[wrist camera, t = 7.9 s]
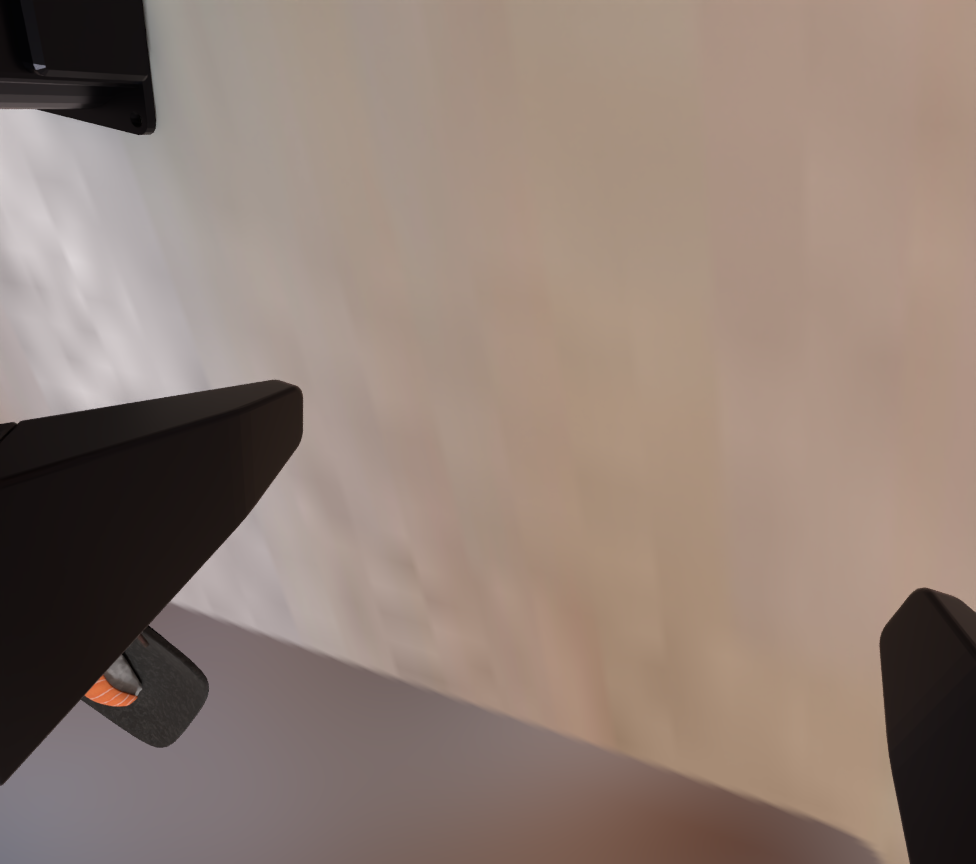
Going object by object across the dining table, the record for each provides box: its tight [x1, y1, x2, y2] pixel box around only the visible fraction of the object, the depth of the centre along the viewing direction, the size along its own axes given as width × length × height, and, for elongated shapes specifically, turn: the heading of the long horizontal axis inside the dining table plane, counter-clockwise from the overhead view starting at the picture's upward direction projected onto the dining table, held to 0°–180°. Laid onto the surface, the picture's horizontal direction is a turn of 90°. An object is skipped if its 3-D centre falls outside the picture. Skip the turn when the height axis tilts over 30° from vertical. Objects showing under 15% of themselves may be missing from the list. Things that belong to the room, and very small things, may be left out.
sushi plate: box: [81, 625, 209, 748], centre depth 36 cm, size 29×30×4 cm
